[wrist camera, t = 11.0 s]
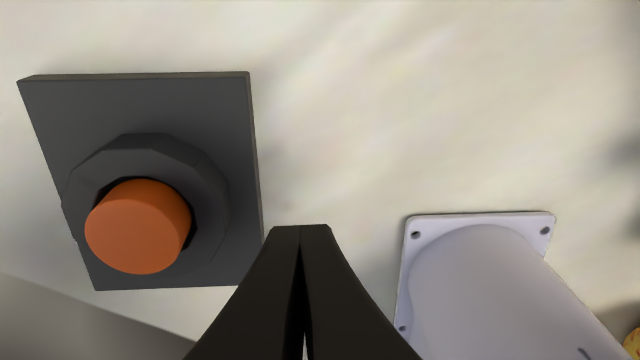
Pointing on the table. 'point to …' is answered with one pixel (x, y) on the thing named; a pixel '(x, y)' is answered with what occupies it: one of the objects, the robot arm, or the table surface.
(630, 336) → the apple
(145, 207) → the button
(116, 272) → the block
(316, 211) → the table surface
